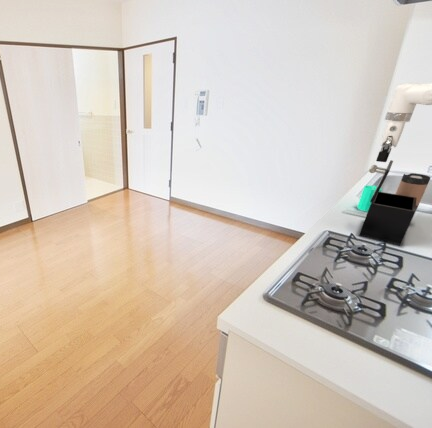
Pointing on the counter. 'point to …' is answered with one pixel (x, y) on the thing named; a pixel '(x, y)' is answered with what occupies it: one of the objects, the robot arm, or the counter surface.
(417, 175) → the travel mug
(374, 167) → the black hinged box lid
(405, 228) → the black flip-top box
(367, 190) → the candle
